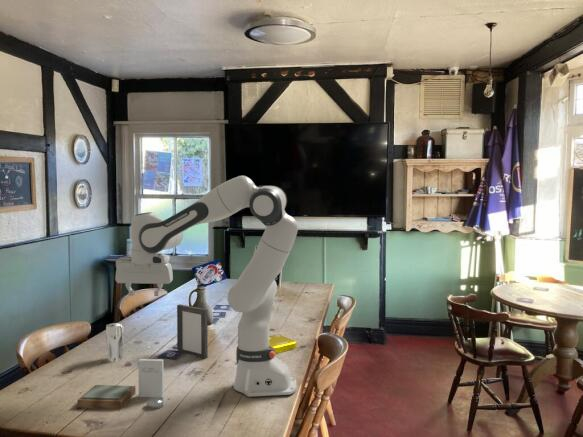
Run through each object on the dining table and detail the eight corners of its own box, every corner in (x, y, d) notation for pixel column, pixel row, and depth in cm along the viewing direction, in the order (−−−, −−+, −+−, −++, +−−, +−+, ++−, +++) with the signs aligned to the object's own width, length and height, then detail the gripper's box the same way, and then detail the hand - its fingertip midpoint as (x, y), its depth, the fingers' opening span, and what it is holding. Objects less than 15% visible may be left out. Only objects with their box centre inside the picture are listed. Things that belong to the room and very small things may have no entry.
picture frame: (177, 353, 204) (177, 305, 203) (180, 352, 206) (180, 304, 205) (204, 361, 196) (204, 310, 195) (208, 359, 197) (208, 309, 196)
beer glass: (127, 361, 195) (127, 325, 194) (111, 366, 189) (110, 328, 189) (119, 357, 199) (118, 321, 199) (103, 361, 194) (102, 325, 194)
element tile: (270, 358, 201) (270, 347, 200) (250, 349, 212) (250, 338, 212) (298, 351, 210) (298, 340, 209) (278, 343, 222) (278, 332, 221)
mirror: (135, 393, 163) (135, 384, 163) (120, 409, 151) (120, 399, 151) (95, 392, 164) (95, 383, 164) (77, 407, 152) (77, 398, 152)
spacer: (165, 403, 156) (165, 397, 156) (160, 410, 151) (160, 404, 151) (150, 403, 156) (150, 397, 156) (144, 409, 151) (144, 403, 151)
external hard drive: (140, 395, 162) (139, 358, 162) (164, 395, 162) (163, 359, 161) (138, 397, 161) (138, 360, 160) (162, 397, 160) (162, 361, 159)
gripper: (112, 258, 171) (112, 296, 171) (168, 258, 169) (168, 297, 170) (119, 256, 177) (119, 293, 178) (174, 256, 176) (174, 294, 176)
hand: (144, 295), depth 174 cm, fingers open, 8 cm apart
